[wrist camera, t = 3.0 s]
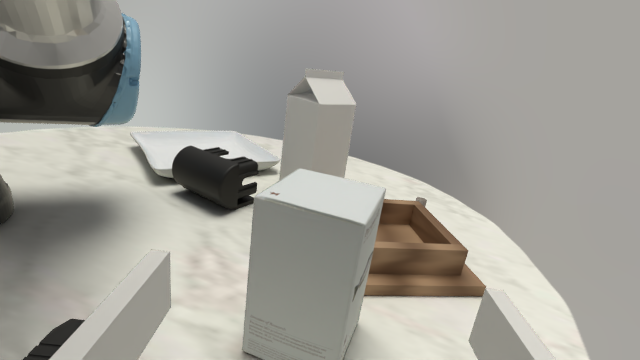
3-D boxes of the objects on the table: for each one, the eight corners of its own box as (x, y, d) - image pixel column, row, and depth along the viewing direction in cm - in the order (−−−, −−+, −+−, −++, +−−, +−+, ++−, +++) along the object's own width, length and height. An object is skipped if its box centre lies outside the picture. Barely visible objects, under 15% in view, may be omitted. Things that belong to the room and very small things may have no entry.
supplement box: (334, 392, 24) (366, 225, 20) (239, 352, 26) (249, 193, 22) (360, 322, 30) (389, 186, 26) (283, 294, 33) (298, 164, 28)
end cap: (171, 194, 50) (170, 147, 48) (211, 183, 56) (212, 141, 53) (218, 218, 45) (220, 168, 43) (258, 203, 51) (261, 158, 48)
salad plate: (282, 176, 64) (283, 157, 63) (154, 189, 51) (154, 167, 50) (235, 144, 79) (236, 129, 78) (129, 148, 67) (128, 131, 66)
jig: (330, 295, 33) (336, 256, 32) (309, 218, 48) (313, 189, 47) (482, 296, 36) (494, 261, 35) (418, 223, 51) (425, 196, 50)
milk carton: (341, 200, 56) (361, 75, 49) (306, 208, 51) (323, 72, 45) (311, 184, 60) (327, 69, 54) (277, 191, 56) (289, 65, 49)
